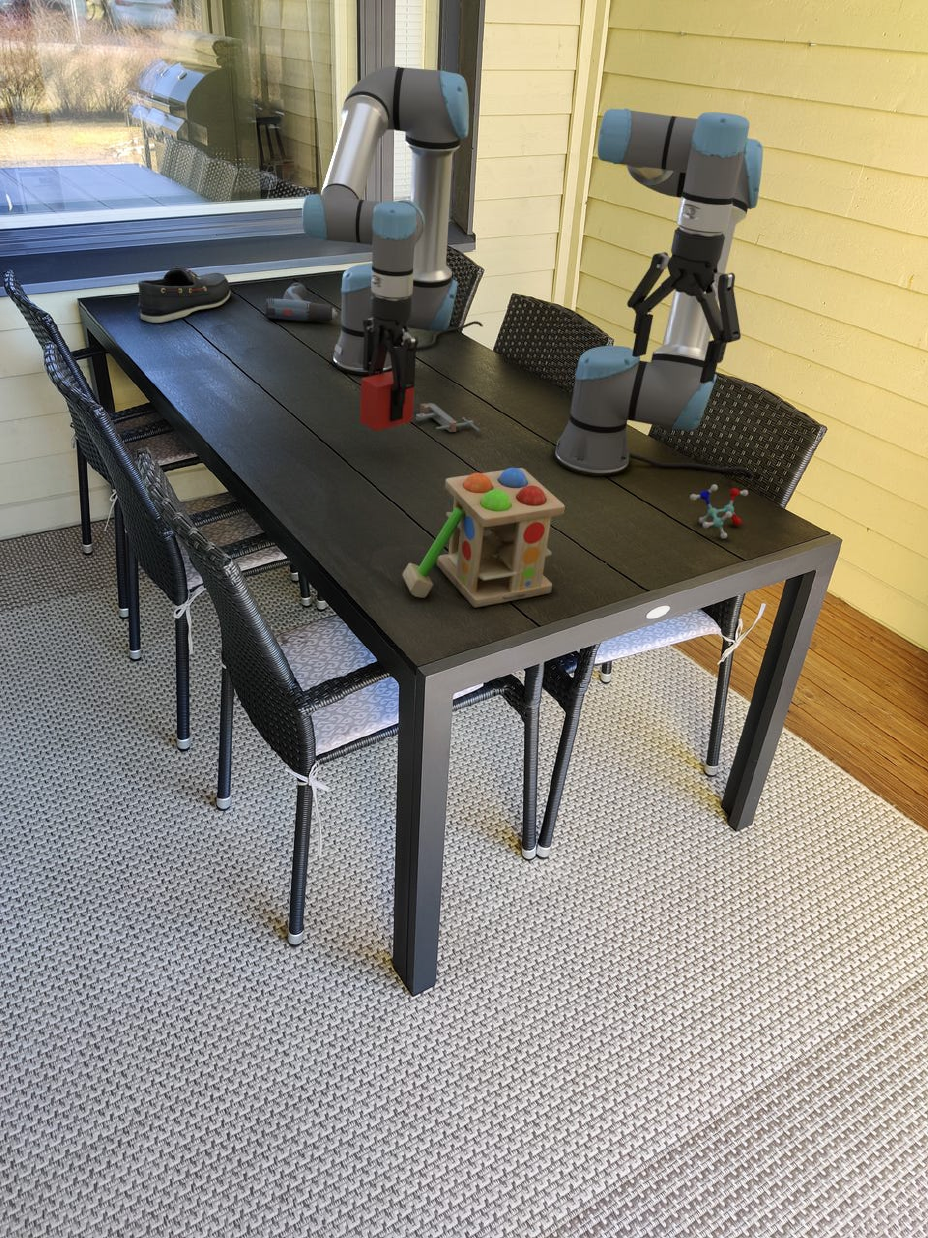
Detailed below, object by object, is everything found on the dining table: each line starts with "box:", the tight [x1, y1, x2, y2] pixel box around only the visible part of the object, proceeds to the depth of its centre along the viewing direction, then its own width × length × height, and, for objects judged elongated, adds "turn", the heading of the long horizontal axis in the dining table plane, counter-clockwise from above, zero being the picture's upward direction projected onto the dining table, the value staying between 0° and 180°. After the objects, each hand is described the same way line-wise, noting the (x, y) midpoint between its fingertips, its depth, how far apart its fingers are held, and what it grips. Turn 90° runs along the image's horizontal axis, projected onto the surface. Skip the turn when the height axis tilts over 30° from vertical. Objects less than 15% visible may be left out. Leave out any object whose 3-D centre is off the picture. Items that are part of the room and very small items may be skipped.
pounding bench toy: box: [401, 467, 566, 608], centre depth 155 cm, size 23×14×18 cm, turn 116°
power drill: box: [264, 282, 338, 322], centre depth 265 cm, size 5×19×20 cm
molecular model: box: [689, 483, 749, 540], centre depth 181 cm, size 12×10×10 cm
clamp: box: [415, 402, 482, 434], centre depth 211 cm, size 15×2×10 cm
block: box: [359, 371, 415, 432], centre depth 190 cm, size 5×9×9 cm, turn 133°
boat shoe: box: [137, 266, 232, 324], centre depth 260 cm, size 13×33×10 cm, turn 147°
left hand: (386, 414), depth 192 cm, fingers closed on block, 5 cm apart
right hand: (671, 368), depth 158 cm, fingers open, 13 cm apart
